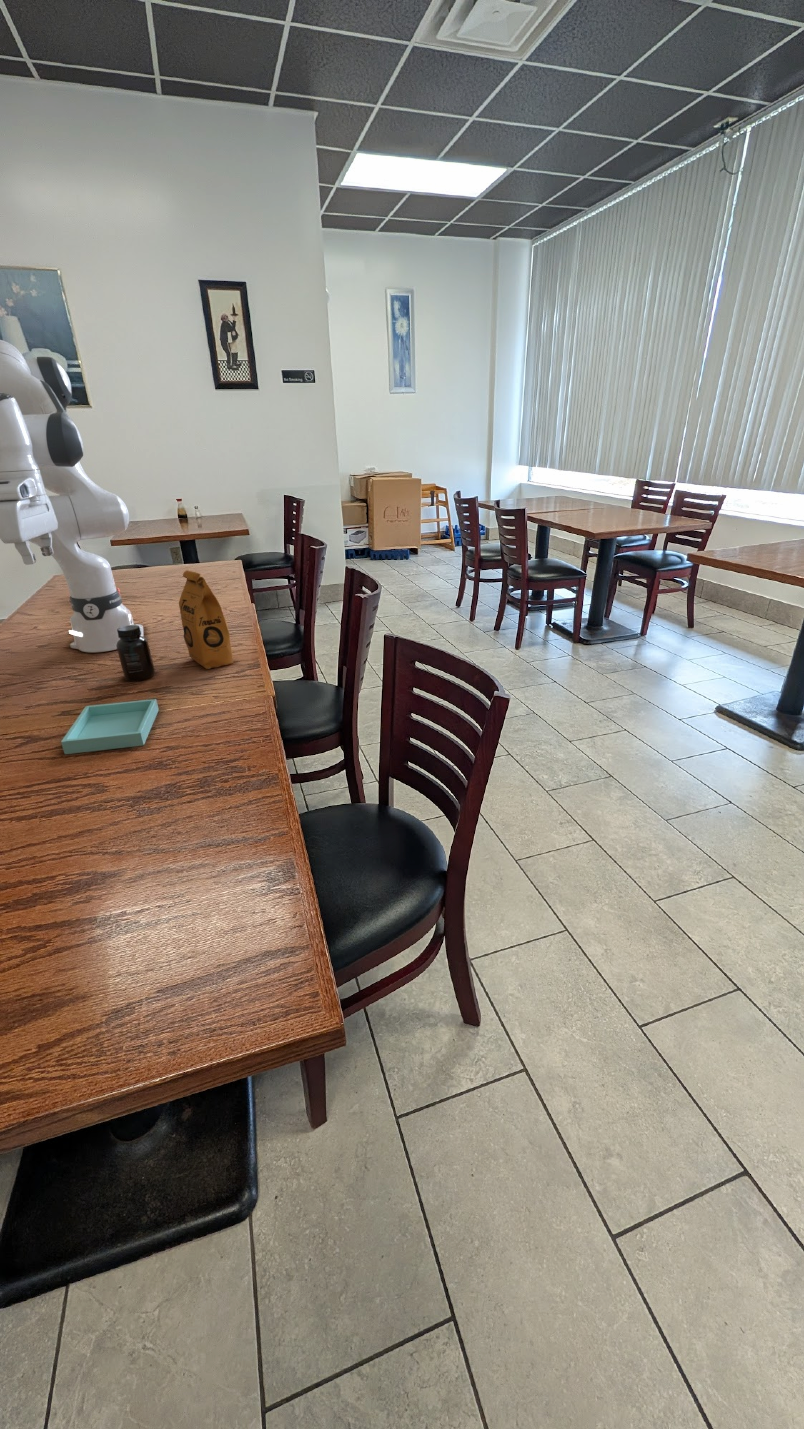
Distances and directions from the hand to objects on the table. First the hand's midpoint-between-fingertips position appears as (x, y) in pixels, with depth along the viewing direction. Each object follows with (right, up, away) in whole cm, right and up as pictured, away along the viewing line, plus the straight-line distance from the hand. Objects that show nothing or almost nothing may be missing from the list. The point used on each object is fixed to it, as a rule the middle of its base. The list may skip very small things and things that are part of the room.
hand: (39, 559), depth 120 cm
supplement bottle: (+12, -23, +20) cm, 32 cm away
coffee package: (+26, -18, +28) cm, 42 cm away
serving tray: (+18, -35, -6) cm, 40 cm away
